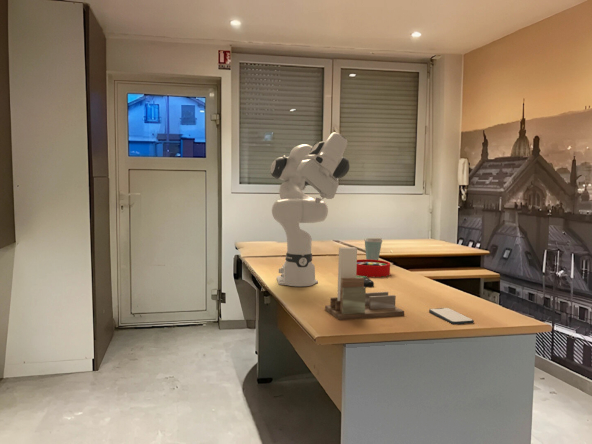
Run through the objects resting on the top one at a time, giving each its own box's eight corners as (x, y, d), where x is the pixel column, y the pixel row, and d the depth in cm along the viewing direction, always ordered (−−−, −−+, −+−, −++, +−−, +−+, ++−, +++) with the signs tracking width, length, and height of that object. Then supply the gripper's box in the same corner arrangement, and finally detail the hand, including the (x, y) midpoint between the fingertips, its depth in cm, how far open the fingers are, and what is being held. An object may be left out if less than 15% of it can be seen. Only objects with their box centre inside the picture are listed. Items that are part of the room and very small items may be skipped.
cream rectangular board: (337, 308, 169) (338, 247, 168) (352, 307, 171) (354, 247, 169) (339, 309, 167) (341, 248, 165) (355, 308, 169) (357, 248, 167)
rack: (324, 309, 173) (325, 293, 172) (385, 305, 180) (386, 290, 180) (339, 319, 160) (339, 302, 159) (404, 315, 167) (404, 298, 167)
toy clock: (360, 266, 233) (345, 259, 253) (360, 278, 234) (345, 270, 253) (397, 265, 239) (379, 259, 258) (396, 276, 239) (379, 269, 258)
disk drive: (374, 288, 213) (365, 280, 228) (374, 282, 213) (365, 275, 228) (351, 288, 212) (344, 281, 227) (352, 282, 212) (344, 275, 226)
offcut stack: (340, 312, 164) (341, 278, 163) (361, 310, 167) (362, 277, 166) (343, 314, 161) (344, 279, 160) (364, 313, 164) (365, 279, 163)
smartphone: (475, 325, 160) (448, 311, 175) (475, 320, 160) (448, 307, 175) (452, 326, 157) (427, 312, 173) (452, 322, 157) (427, 308, 173)
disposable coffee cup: (359, 262, 280) (360, 237, 279) (371, 260, 287) (372, 236, 286) (373, 264, 272) (374, 238, 271) (385, 262, 279) (386, 237, 278)
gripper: (335, 182, 200) (321, 209, 196) (303, 153, 189) (287, 181, 185) (345, 181, 195) (330, 210, 191) (312, 152, 184) (296, 181, 180)
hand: (309, 196), depth 188 cm, fingers open, 8 cm apart
